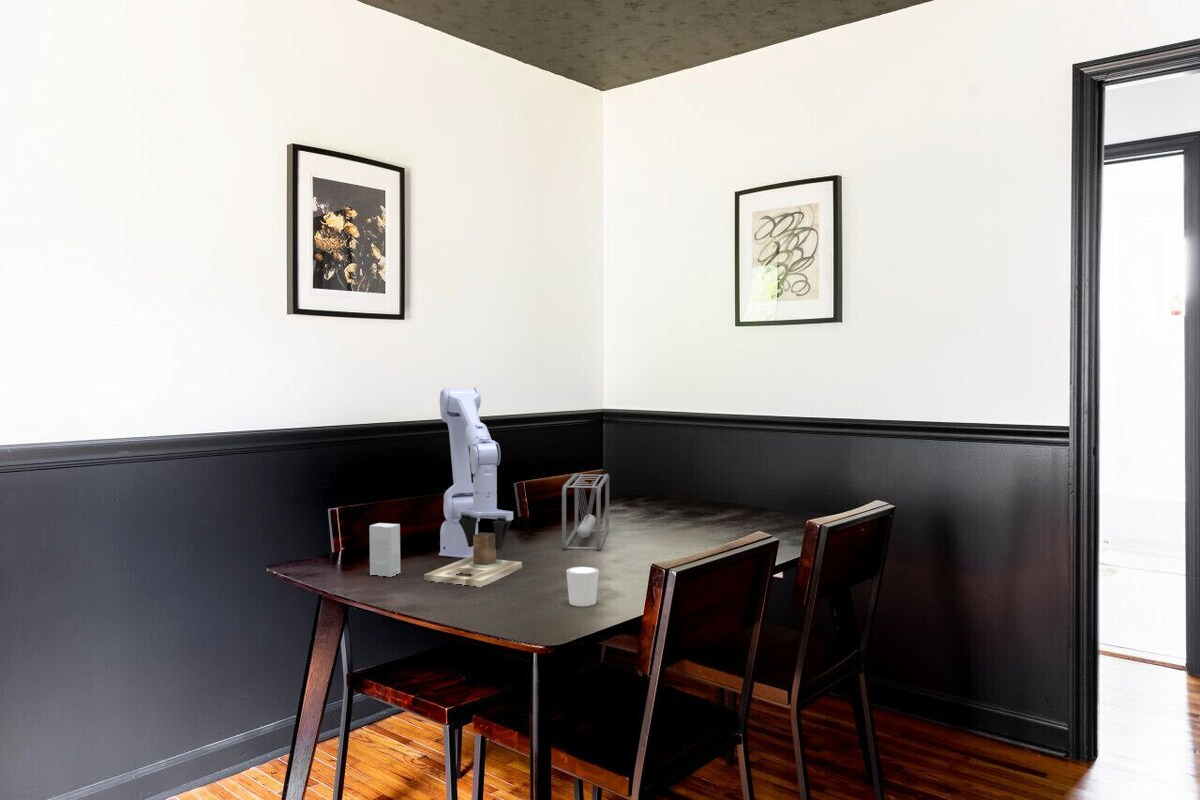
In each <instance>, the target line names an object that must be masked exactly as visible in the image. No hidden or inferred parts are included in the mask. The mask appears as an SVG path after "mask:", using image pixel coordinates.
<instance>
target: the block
mask: <svg viewBox="0 0 1200 800" xmlns="http://www.w3.org/2000/svg"><path fill="white" fill-rule="evenodd" d="M496 560H497V550H496V548H495V532H494V533H493V532H478V534H476V535H473V564H479V565H490V564H492V563H495V562H496Z"/></svg>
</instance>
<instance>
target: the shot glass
mask: <svg viewBox="0 0 1200 800" xmlns="http://www.w3.org/2000/svg"><path fill="white" fill-rule="evenodd" d="M599 573H600V569H598V568H596V567H594V566H573V567H569V568H567V569H566V582H567V591H568V592H567V593H568V604H569V605H571V606H575V607H590V605H591V606H594V605H595V604H596V603H597V598H598V597H597V596H598V595H597V594H598V585H599Z"/></svg>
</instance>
